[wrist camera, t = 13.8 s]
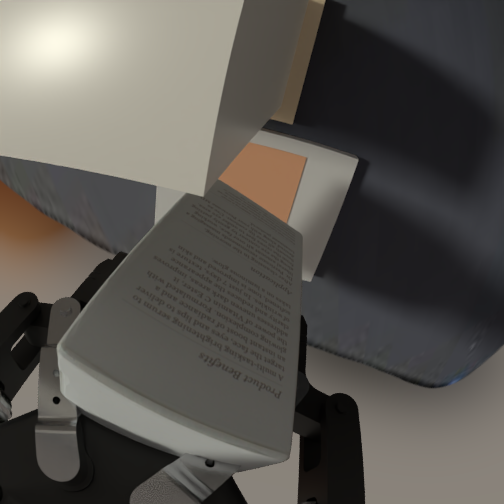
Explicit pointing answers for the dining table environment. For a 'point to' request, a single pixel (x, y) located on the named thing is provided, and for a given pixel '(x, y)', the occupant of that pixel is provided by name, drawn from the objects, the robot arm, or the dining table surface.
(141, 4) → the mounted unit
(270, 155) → the pad
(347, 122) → the dining table surface
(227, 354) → the small box
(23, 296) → the robot arm
